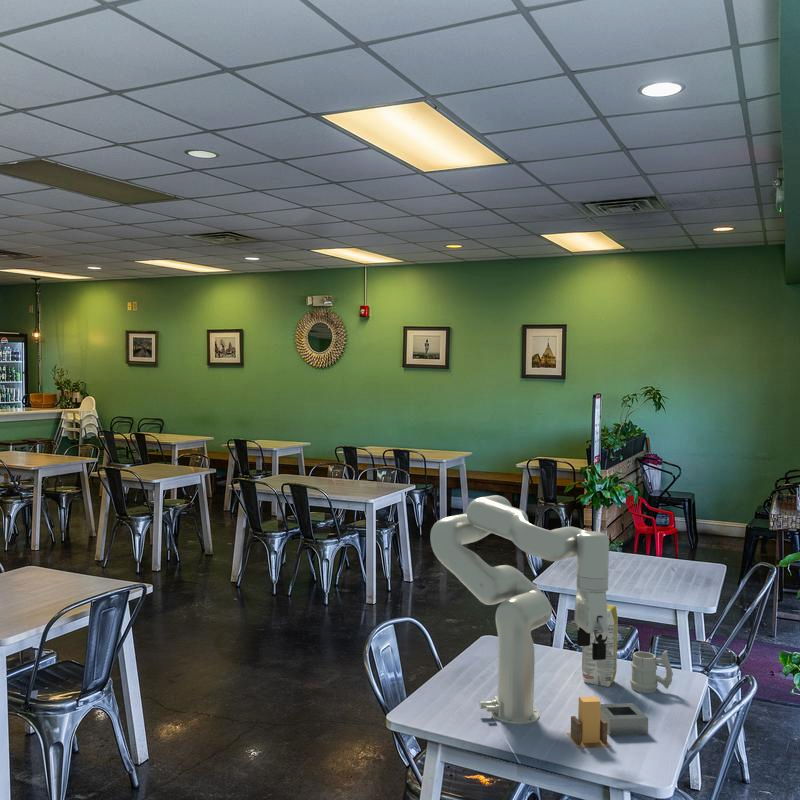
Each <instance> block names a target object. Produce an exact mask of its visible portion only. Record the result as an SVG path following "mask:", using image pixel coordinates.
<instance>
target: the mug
mask: <svg viewBox="0 0 800 800" xmlns="http://www.w3.org/2000/svg"><path fill="white" fill-rule="evenodd" d="M669 659H670V658H669V657H668V650H664V651H663V652H662V654H661V656H660V657H656V655H655V654H653V653H651V652H649V651H635V652H633V654H632V662H631V663H630V665H631V677H630V679H629V683H630V688H631V690H634V691H636V692H638V693H643V694H654V693H655V692H656V691H657V688H658V683H660V684H661V685H662V686H663V687H664V688H665V689H669V687H670V685H672V682H673V675H674V673H673V669H672V665H671V662H670V660H669ZM657 663H660V664H662V665H663V667H664V668H665V670H666V671H665V672H666V673H665V676H663V677H661V676H660V675H657V670H658V665H657Z"/></svg>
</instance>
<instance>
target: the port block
mask: <svg viewBox="0 0 800 800" xmlns="http://www.w3.org/2000/svg"><path fill="white" fill-rule="evenodd" d="M600 715H601V716H602V717H603V719H604V720H605V721H606V722H607V723H608V724H607V736H608V737H625V736H627V737H629V736H630V737H631V736H632V737H633V736H649V717H648V716H647V715H646V714H645V713H644V712H642V710H640V708H639V707H638V706H636V705H635V704H634V702H629V703H628V702H627V703H626V702H625V703H623V702H622V703H600Z"/></svg>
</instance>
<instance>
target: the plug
mask: <svg viewBox="0 0 800 800" xmlns="http://www.w3.org/2000/svg"><path fill="white" fill-rule="evenodd" d="M600 704H602V703H601V701H600V699H599V698H598V697H597V696H579V697H578V706H577V707H578V711H577V712H578V714H577V715H578V716H577V719H578V720H579V722H580V723H581V742H582V743H596V742H600Z"/></svg>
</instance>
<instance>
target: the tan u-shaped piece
mask: <svg viewBox="0 0 800 800" xmlns="http://www.w3.org/2000/svg"><path fill="white" fill-rule="evenodd" d="M607 724H608V723H607V722H606V721H605V720H604V719H603V717H602V716H601V715H600V742H596V743H582V742H581V723H580V722H579V720H578V717H576V716H575V715H571V716H570V732H567V733H566V735H567V736H568V737H569V738H570V740H571V741H572V743H573V744H574V745H575V747H577V749H599V748H600V749H601V748H612V745H611V744H610V743H609V742H608V734H607Z"/></svg>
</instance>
